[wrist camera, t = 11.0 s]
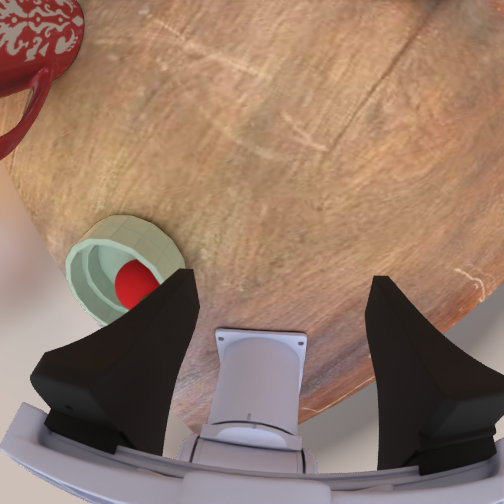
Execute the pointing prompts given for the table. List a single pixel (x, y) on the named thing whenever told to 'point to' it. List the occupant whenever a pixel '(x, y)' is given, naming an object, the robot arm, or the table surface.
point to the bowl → (116, 262)
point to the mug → (35, 53)
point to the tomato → (134, 283)
